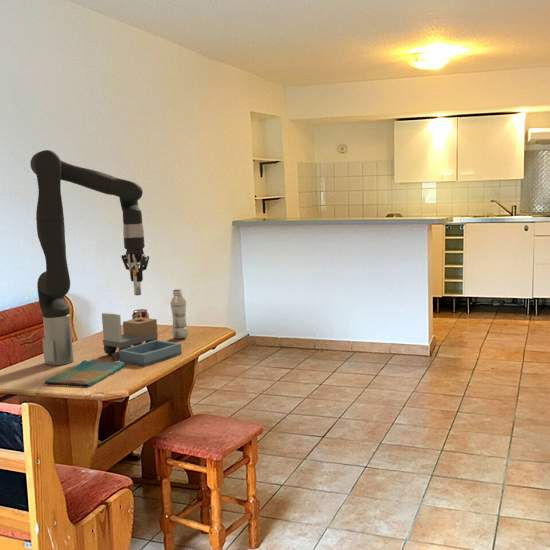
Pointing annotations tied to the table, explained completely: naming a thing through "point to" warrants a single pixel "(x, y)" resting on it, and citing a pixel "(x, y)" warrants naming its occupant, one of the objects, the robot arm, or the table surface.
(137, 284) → the stop pin
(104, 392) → the table surface
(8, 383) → the table surface
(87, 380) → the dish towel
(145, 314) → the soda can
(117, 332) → the trolley
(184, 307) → the plastic bottle
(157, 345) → the tray
